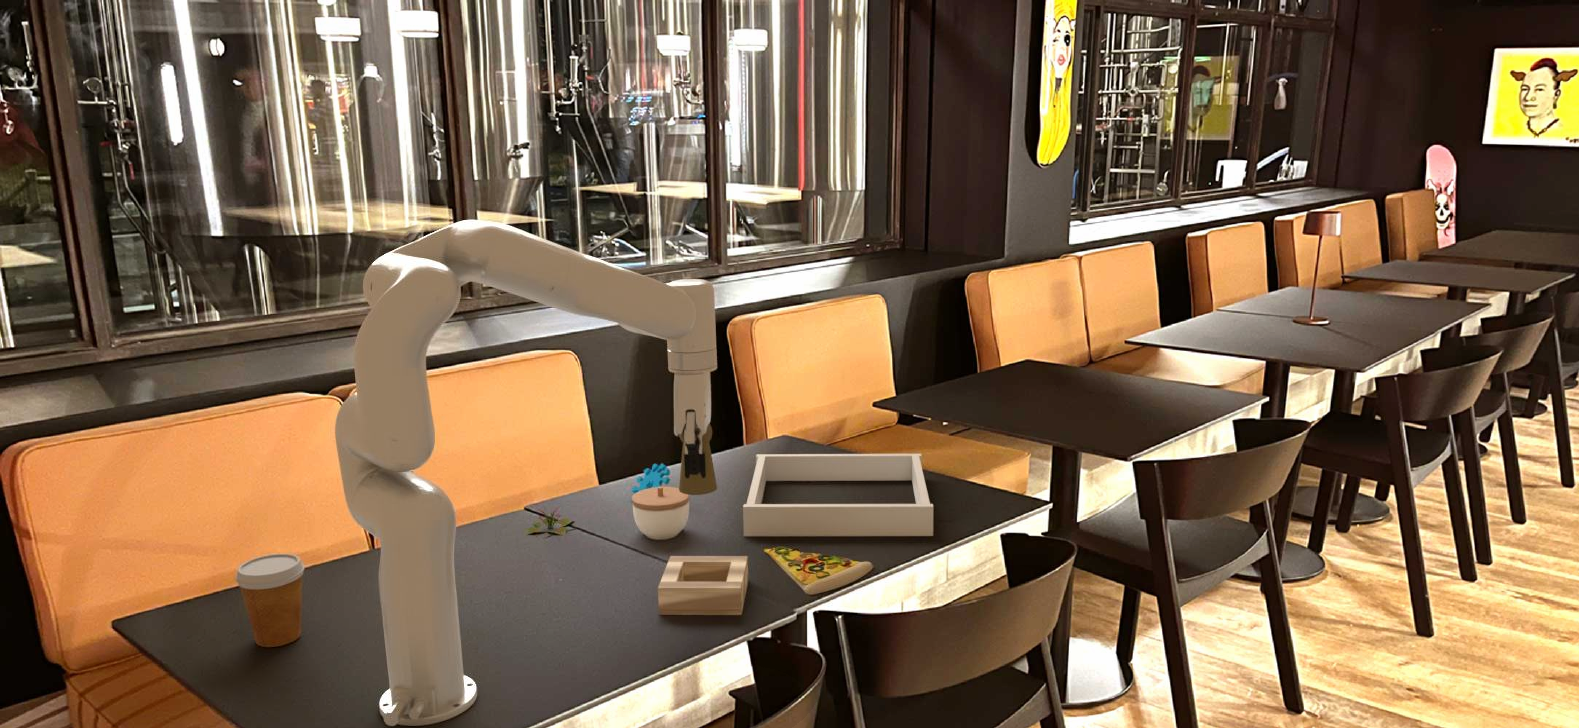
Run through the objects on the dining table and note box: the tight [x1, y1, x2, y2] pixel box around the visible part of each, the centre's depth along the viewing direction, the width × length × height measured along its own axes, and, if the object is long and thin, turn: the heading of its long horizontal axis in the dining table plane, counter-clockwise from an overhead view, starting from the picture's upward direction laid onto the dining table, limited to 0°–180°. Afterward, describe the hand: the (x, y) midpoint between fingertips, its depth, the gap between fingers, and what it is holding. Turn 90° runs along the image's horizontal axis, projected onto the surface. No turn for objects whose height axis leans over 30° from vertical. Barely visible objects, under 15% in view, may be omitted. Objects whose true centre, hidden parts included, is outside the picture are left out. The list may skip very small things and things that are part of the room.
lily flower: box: [524, 506, 577, 539], centre depth 212 cm, size 12×12×5 cm
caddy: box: [657, 555, 749, 616], centre depth 179 cm, size 13×13×4 cm
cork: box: [678, 424, 718, 496], centre depth 174 cm, size 6×6×11 cm
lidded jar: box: [631, 486, 691, 541], centre depth 207 cm, size 11×11×9 cm
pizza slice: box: [763, 546, 874, 596], centre depth 191 cm, size 16×21×3 cm
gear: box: [630, 463, 671, 501], centre depth 225 cm, size 11×6×10 cm
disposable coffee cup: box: [234, 553, 306, 648], centre depth 167 cm, size 10×10×12 cm
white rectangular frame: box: [742, 453, 934, 537], centre depth 220 cm, size 33×35×6 cm
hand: (697, 471), depth 175 cm, fingers closed on cork, 3 cm apart
